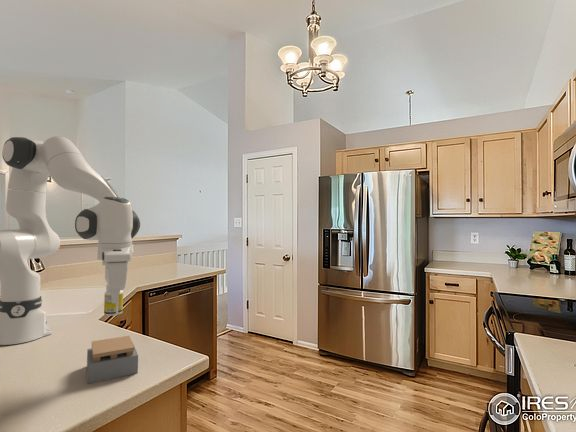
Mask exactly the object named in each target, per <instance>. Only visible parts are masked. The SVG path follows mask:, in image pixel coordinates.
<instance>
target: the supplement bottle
mask: <svg viewBox="0 0 576 432" xmlns="http://www.w3.org/2000/svg"><path fill="white" fill-rule="evenodd" d="M105 287H106V288H105V290H106V291H105V292H104V301H103V303H104V305H103V307H104V308H103V314H104V315H105V316H109V317H111V316H113V317H114V316H118V315H122V314H123V311H124V291H123V290H120V293H119V302H118V303H115V304H112V303H111V291H110V289H109V287H108V284H106V286H105Z"/></svg>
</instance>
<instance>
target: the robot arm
mask: <svg viewBox="0 0 576 432" xmlns="http://www.w3.org/2000/svg"><path fill="white" fill-rule="evenodd" d="M1 152H2V153H1V154H2V160H3V161H4V163H5V164H6V165H7V166H8V167H11V171H10V175H9V178H8V185H7V192H6V202H5V204H6V205H5V210H6V213H7V214H8V215H9V216H11V217H12V218H14V219H15V220H16V221H17V223H18V226H19V229H0V346H8V345H18V344H23V343H28V342H32V341H35V340H39V339H40V338H43V337H45V336H50V335H52V334H53V332H52V331H53V330H52V329H51V328H50V325H48V321H47V320H46V316H47V315H46V314H47V313H46V311H45V310H43V309H42V303H43V299H42V296H41V284H42V283H41V280H42V279H41V278H42V277H41V275H40V273H38V272H37V271H35V270H32V269H31V268H30V266H29V263H28V260H33V259H34V260H35V259H42V258H46V257H48V256H49V257H50V256H51V255H55V254H56V253H57V252H58V251H59V249H60V247H61V239H60V236H59V234H57V232H55V231H54V230H53V229H52V228H51V226H50V224H49V221H48V218H47V214H46V213H47V212H46V208H47V191H48V179H49V178H50V177H51V179H52V180H53V181H54V183H55V184H57V185H58V186H59V187H60V188H62V189H64V190H68V191H71V192H76V193H78V194H83V195H85V196H89V197H91V198H93V199H96V200H97V201H98V202H99V203H98V204H95V205H94V206H91V207H89V208H84V209H82V210H81V211H80V212H79V213H78V214H77V216H76V217H75V220H74V221H75V223H74V227H75V232H76V233H77V235H78V236H79V237H80V238H82V239H83V240H88V241H97V260H100V261H101V262H102V266H105V267H104V268H105V269H104V280H105V282H106V285H108V287H109V289H110V291H111V303H112V304H115V303H118V302H119V293H120V290H122V291H123V290H125V288H126V284H127V280H128V279H127V277H128V269H129V262H131V260H132V257H133V238H134V237H136V236H137V234H138V233H139V230H140V229H141V220H140V218H139V216H138V214H137V213H136V212H135V211H134V210H133V207H132V204H131V201H130V200H128V199H126V198H123V197H121V196H120V195H119V194H118V193H117V191H116V190H115V188H113V186H112V185H111V184H110V183H109V182H108V180H107V179H105V178H104V177H103V175H100V174H99V173H98V172H97V171H95V170H94V169H93V167H91V165H90V164H89V163H88V162H87V160H86V159H85V157H84V155H83V154H82V152H81V151H80V149H79V148H78V147H77V145H75V144H74V143H73V141H71V140H70V139H69V138H68V137H67V138H66V137H64V136H59V135H58V136H51V137H49V138H47V139H45V140H39V139H31V138H27V137H23V136H21V137H19V136H15V137H10V138H8V139H7V140H6V141H5V143H4V144H3V146H2V151H1Z"/></svg>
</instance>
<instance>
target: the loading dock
mask: <svg viewBox="0 0 576 432" xmlns="http://www.w3.org/2000/svg"><path fill="white" fill-rule="evenodd" d="M86 355H87V356H86V372H87V374H86V378H87V384H92V383H98V382H102V381H107V380H112V379H115V378H117V379H118V378H120V377H125V376H131V375H135V374H138V373H139V372H138V371H139V370H138V369H139V354H138V351H137V349H136V346H135V345H134V342H133V341H132V338H131V337H130V335H123V336H118V337H112V338H106V339H98V340H92V341H91V348H87V352H86Z"/></svg>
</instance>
